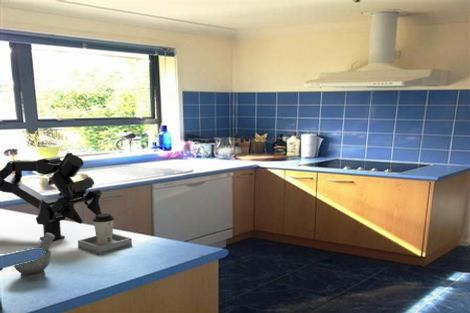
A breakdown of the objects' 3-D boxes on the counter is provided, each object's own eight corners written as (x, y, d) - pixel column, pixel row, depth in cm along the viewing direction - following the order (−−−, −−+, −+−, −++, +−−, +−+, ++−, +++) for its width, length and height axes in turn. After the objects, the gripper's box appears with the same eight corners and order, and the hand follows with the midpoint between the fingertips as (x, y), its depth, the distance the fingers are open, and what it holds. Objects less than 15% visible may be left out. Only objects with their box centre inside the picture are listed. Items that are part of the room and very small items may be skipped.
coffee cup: (116, 245, 148) (114, 216, 147) (94, 248, 146) (92, 218, 145) (114, 240, 155) (113, 212, 154) (93, 242, 153) (92, 214, 152)
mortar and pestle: (12, 285, 117) (9, 241, 116) (13, 274, 126) (11, 233, 125) (58, 278, 122) (55, 236, 121) (56, 268, 130) (54, 228, 129)
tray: (78, 247, 150) (77, 240, 149) (110, 239, 159) (109, 232, 159) (99, 255, 142) (99, 247, 141) (131, 245, 151) (131, 238, 151)
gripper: (56, 174, 144) (83, 210, 140) (96, 167, 161) (122, 199, 157) (40, 196, 148) (66, 232, 145) (81, 187, 165) (105, 219, 161)
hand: (91, 219), depth 152 cm, fingers open, 9 cm apart
